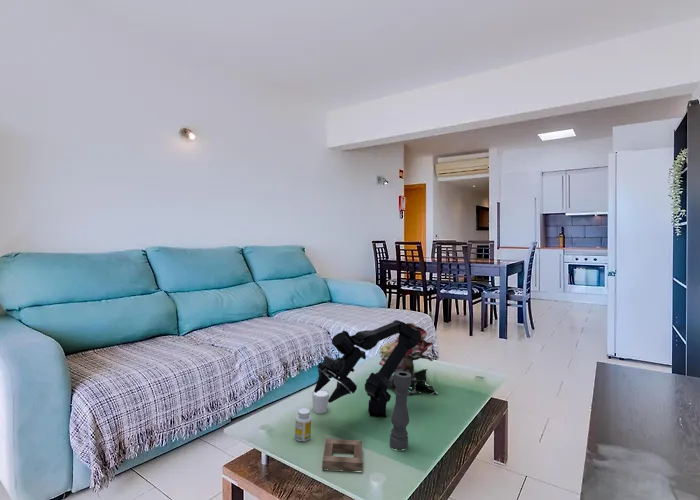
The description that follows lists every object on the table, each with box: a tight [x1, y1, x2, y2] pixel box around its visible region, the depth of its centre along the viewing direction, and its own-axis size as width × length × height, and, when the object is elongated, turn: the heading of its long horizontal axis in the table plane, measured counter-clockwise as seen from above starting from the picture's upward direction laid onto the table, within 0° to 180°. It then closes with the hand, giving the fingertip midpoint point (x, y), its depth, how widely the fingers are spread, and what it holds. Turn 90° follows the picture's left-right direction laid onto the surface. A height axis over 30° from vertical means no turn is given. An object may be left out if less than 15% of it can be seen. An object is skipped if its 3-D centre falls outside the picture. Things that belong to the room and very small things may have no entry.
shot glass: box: [311, 389, 330, 414], centre depth 153 cm, size 7×7×7 cm
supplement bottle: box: [294, 407, 312, 442], centre depth 132 cm, size 5×5×10 cm
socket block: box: [321, 438, 363, 472], centre depth 121 cm, size 12×12×3 cm
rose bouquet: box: [378, 322, 436, 395], centre depth 181 cm, size 26×29×30 cm
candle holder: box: [389, 371, 411, 450], centre depth 130 cm, size 6×6×25 cm
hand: (321, 396), depth 136 cm, fingers open, 9 cm apart
